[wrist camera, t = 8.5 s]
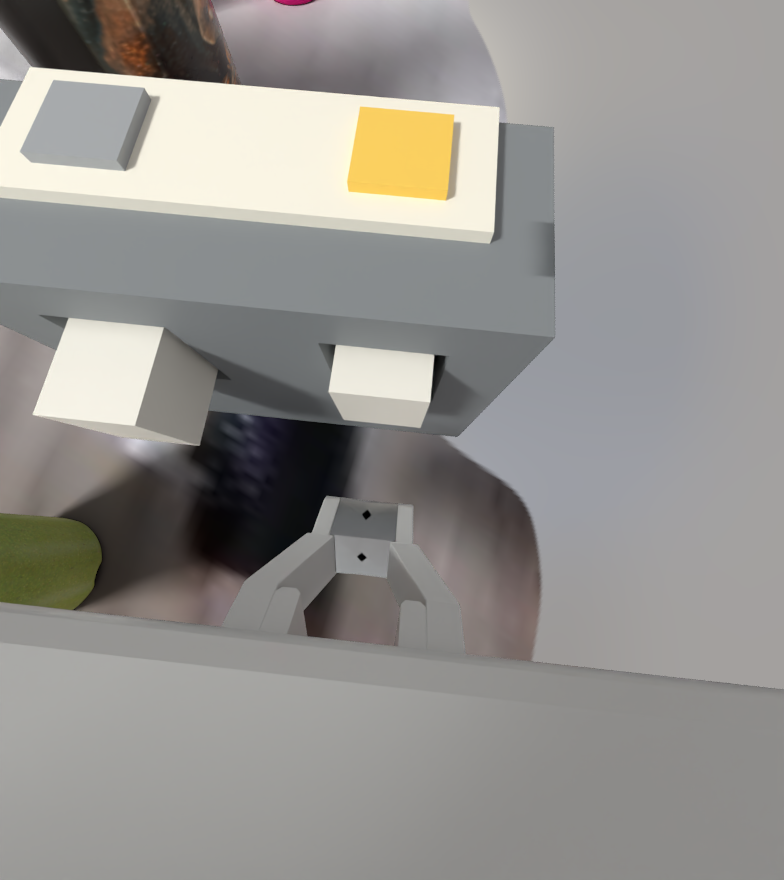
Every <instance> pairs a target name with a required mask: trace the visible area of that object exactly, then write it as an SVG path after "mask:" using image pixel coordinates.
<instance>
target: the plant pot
mask: <svg viewBox="0 0 784 880" xmlns="http://www.w3.org/2000/svg"><path fill="white" fill-rule="evenodd" d="M101 561H102V553H101V547H100V544H99V541H98V539H97V537H96V536H95V534H94V533H93V532H92V530H91V529H90V528H88V527H87V526H86V525H85V524H83V523H81V522H79V521H75V520H70V519H66V518H57V517H44V516H30V515H17V514H3V513H0V602H5V603H13V604H22V605H31V606H40V607H49V608H58V609H67V610H73V609H75V608H76V607H77V606H78V605H79V604H80V603H82V602H83V600H84V599H85V598H86V597H87V596H88V595H89V593H90V592H91V591H92V589H93V587H94V580H95V576H96V573H97V570H98V568H99V565H100V564H101Z"/></svg>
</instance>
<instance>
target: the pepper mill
mask: <svg viewBox="0 0 784 880" xmlns="http://www.w3.org/2000/svg"><path fill="white" fill-rule="evenodd" d="M275 1H277V2H279V3H282V4H286V5H299V4H304V3H307V2H310V1H312V0H275Z"/></svg>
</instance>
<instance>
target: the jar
mask: <svg viewBox="0 0 784 880" xmlns="http://www.w3.org/2000/svg"><path fill="white" fill-rule="evenodd" d="M0 28H1V29H2V30H3V32H4V33H5V34H6V35H7V37H8V38H9V39H10V40H11V42H12V43H13V44H14V45H15V47H16V48H17V49H18V50H19V51H20V53H21V54H22V55H23V56H24V58H25V59H26V60H27V61H28V63H29V64H30V65H31V66H32V67H36V68H48V69H59V70H71V71H83V72H94V73H106V74H117V75H129V76H141V77H152V78H164V79H176V80H187V81H199V82H210V83H222V84H234V85H241V82H240V80H239V77H238V74H237V71H236V68H235V66H234V63H233V60H232V57H231V54H230V51H229V49H228V46H227V43H226V40H225V38H224V35H223V32H222V29H221V27H220V24H219V21H218V18H217V15H216V13H215V10H214V7H213V4H212V2H211V0H0Z"/></svg>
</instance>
